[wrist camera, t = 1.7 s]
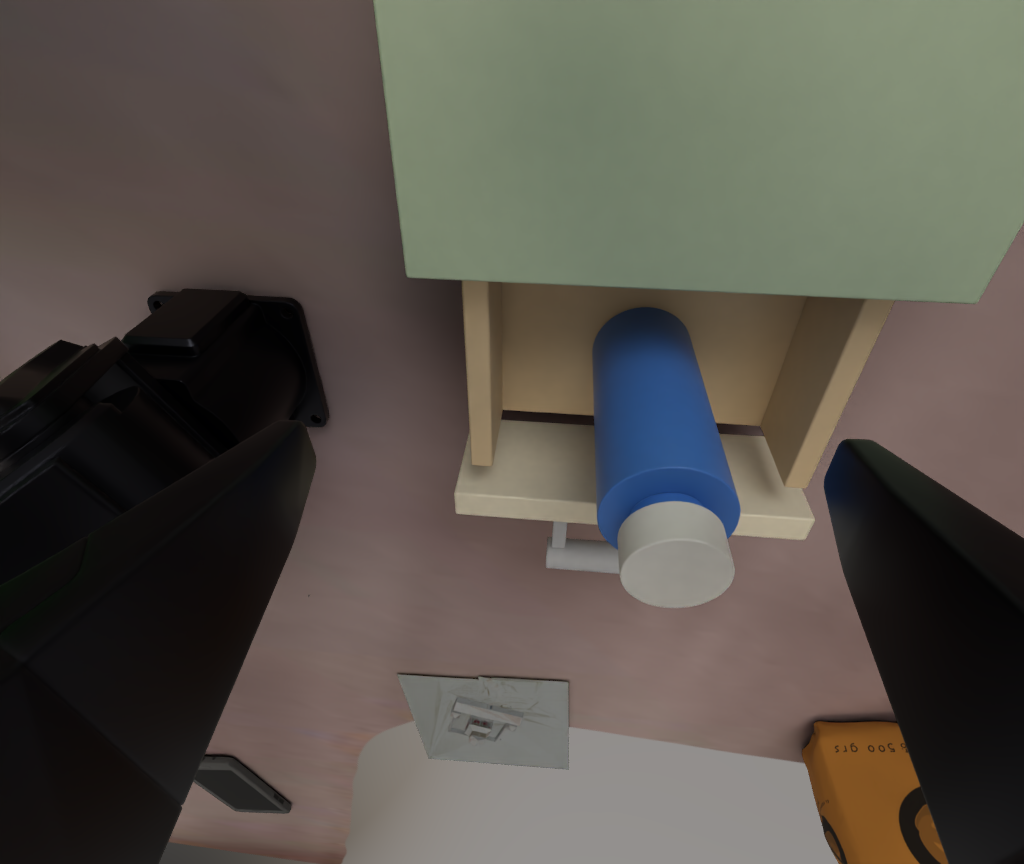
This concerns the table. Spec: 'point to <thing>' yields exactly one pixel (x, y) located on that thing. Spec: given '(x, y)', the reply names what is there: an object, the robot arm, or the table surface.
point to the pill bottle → (660, 463)
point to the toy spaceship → (491, 719)
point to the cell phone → (238, 787)
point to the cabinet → (708, 143)
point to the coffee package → (870, 795)
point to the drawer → (726, 375)
